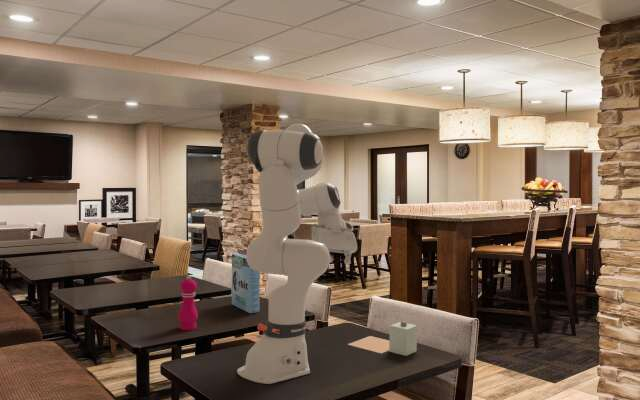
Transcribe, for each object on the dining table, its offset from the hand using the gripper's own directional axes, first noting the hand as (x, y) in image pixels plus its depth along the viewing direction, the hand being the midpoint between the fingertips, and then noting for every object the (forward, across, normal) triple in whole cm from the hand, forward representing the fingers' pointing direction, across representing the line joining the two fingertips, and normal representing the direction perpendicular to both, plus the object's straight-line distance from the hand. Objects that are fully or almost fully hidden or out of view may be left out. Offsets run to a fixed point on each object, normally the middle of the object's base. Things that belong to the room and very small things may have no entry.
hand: (339, 263), depth 191 cm
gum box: (-2, +8, +66) cm, 66 cm away
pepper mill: (+8, -26, +57) cm, 64 cm away
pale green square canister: (+33, +13, -9) cm, 37 cm away
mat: (+29, +12, +1) cm, 31 cm away
